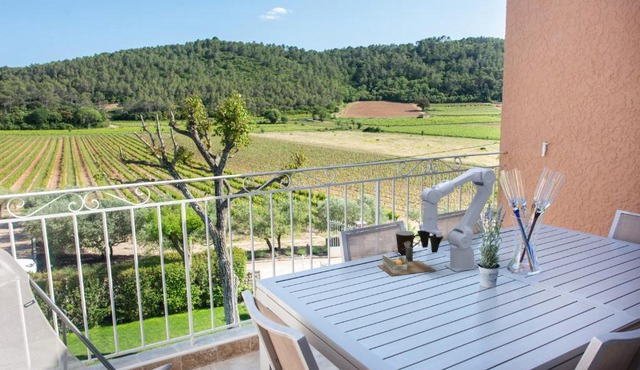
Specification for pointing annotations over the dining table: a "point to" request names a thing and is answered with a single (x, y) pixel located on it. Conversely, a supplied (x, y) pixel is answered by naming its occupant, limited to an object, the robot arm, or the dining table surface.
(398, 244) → the coffee mug
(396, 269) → the brown piece
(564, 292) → the dining table surface
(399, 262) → the ball
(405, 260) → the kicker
